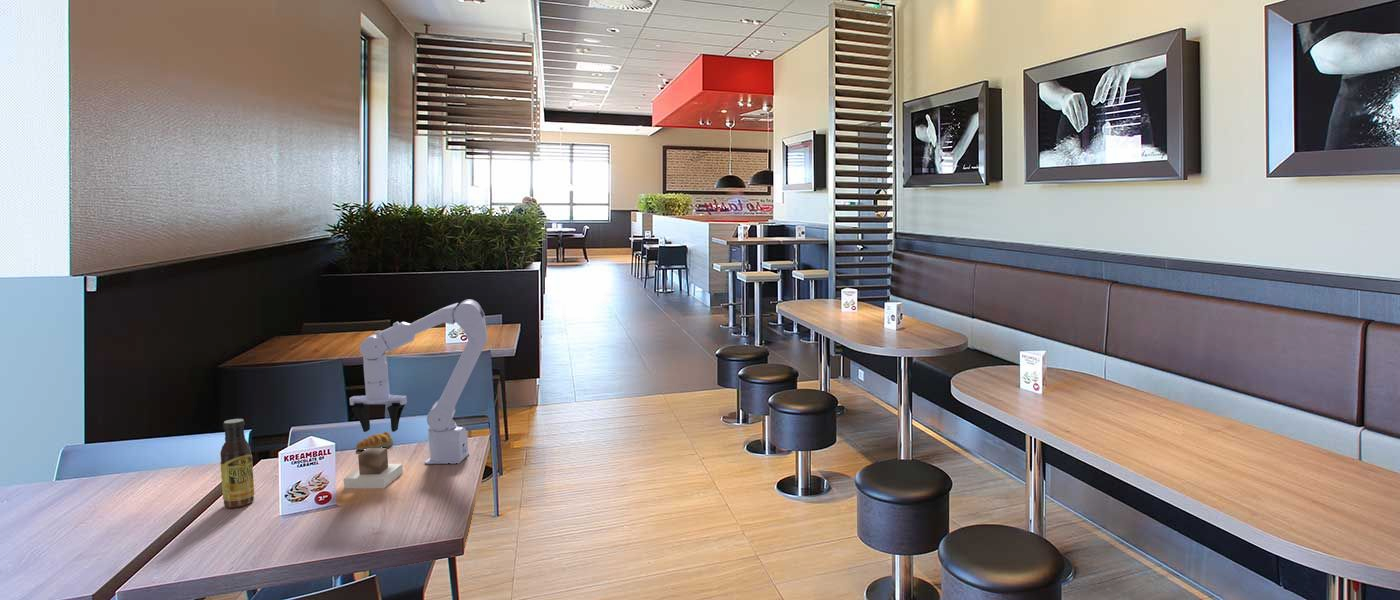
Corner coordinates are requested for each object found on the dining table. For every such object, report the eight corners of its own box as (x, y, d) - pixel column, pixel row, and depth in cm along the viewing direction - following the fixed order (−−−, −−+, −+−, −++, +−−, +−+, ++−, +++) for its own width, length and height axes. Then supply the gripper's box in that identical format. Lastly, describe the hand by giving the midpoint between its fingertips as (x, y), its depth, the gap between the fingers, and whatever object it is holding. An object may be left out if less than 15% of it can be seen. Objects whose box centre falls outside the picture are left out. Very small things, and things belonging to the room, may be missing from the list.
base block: (403, 475, 185) (402, 463, 185) (384, 490, 175) (383, 478, 175) (365, 475, 186) (364, 464, 185) (344, 490, 176) (343, 478, 176)
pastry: (361, 454, 201) (360, 441, 200) (353, 449, 206) (351, 436, 205) (395, 446, 207) (394, 433, 207) (386, 441, 212) (385, 428, 212)
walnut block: (388, 467, 183) (387, 448, 182) (379, 474, 178) (378, 454, 177) (368, 467, 183) (367, 448, 182) (359, 474, 178) (358, 455, 177)
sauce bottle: (232, 511, 163) (222, 427, 161) (218, 505, 167) (209, 423, 164) (262, 501, 169) (253, 419, 166) (248, 495, 172) (239, 415, 170)
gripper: (341, 384, 185) (346, 435, 187) (396, 384, 184) (400, 435, 186) (355, 378, 192) (359, 427, 194) (408, 377, 191) (412, 426, 193)
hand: (380, 430), depth 190 cm, fingers open, 7 cm apart
